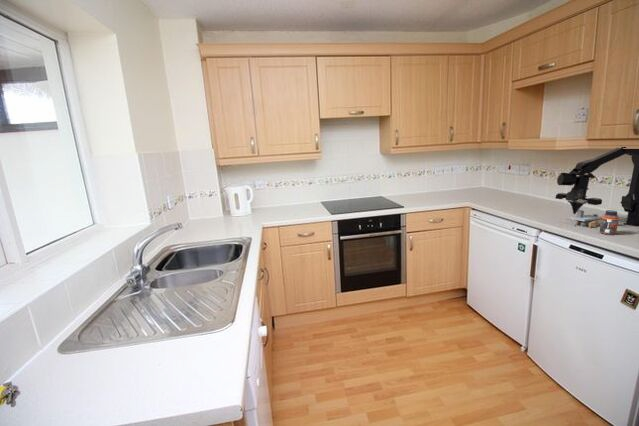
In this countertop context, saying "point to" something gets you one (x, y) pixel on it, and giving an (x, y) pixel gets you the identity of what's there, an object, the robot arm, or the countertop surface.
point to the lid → (585, 216)
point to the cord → (585, 223)
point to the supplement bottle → (609, 223)
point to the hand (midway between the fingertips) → (574, 214)
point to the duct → (590, 223)
